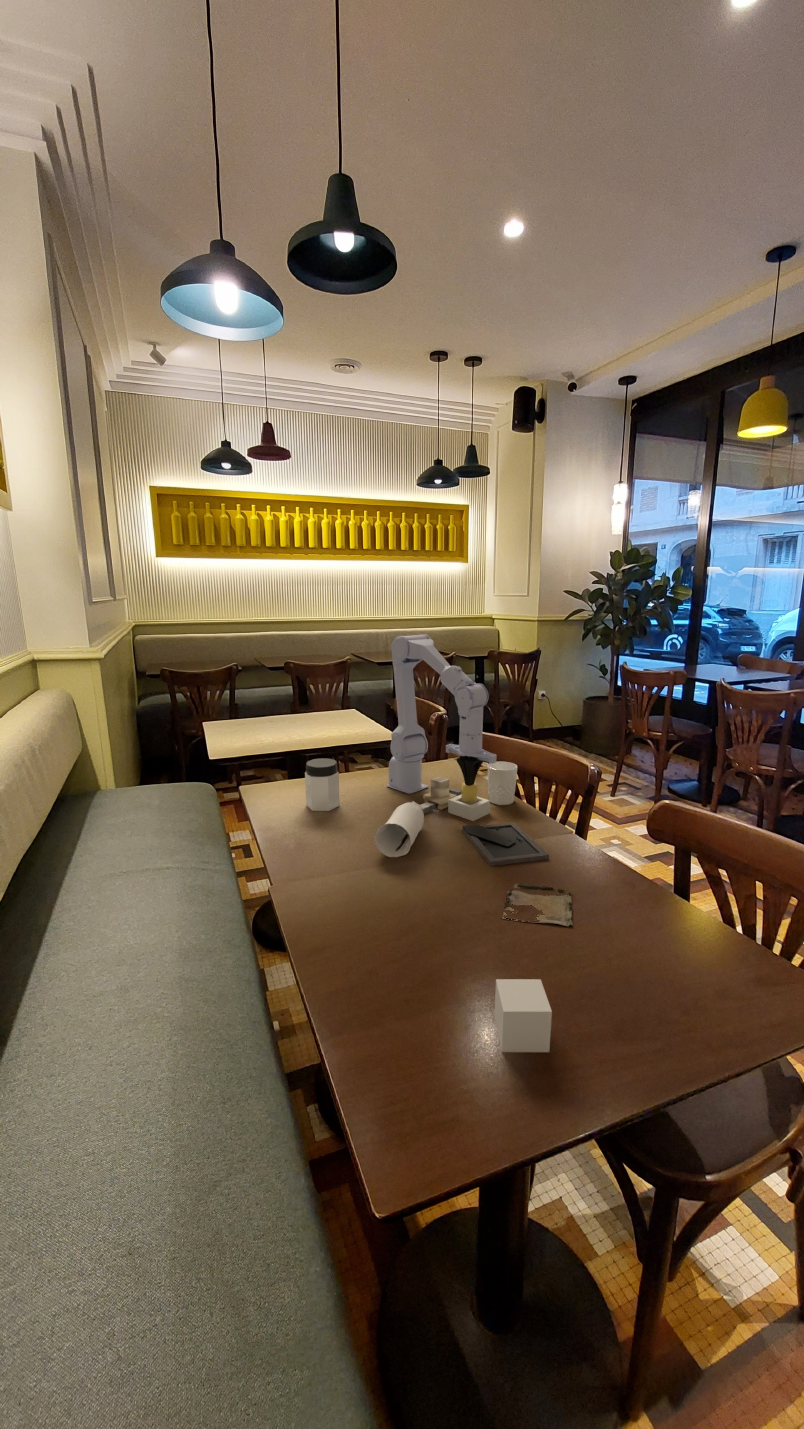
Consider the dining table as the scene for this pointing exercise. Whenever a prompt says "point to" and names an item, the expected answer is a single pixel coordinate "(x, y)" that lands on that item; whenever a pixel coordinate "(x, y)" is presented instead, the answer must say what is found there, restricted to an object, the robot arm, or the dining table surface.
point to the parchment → (543, 904)
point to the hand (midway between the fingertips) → (469, 784)
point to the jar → (322, 784)
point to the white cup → (502, 782)
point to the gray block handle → (432, 805)
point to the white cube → (522, 1015)
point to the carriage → (439, 792)
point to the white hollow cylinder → (400, 829)
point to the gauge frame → (469, 808)
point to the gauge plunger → (469, 792)
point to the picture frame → (504, 843)
